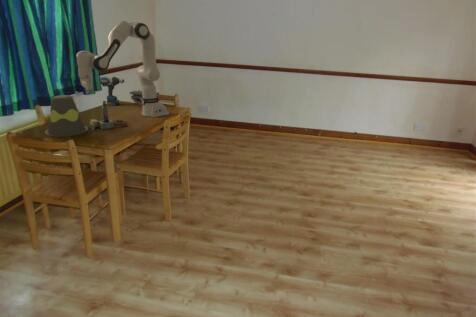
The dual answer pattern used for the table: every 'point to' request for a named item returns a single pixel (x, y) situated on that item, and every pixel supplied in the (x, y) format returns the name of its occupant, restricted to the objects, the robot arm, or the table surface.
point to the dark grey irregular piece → (138, 97)
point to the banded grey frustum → (64, 118)
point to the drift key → (95, 122)
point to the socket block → (102, 125)
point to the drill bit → (105, 112)
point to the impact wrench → (111, 88)
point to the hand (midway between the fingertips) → (87, 93)
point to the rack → (119, 123)
